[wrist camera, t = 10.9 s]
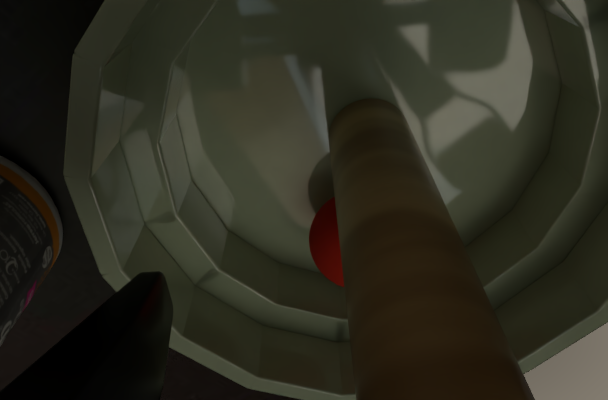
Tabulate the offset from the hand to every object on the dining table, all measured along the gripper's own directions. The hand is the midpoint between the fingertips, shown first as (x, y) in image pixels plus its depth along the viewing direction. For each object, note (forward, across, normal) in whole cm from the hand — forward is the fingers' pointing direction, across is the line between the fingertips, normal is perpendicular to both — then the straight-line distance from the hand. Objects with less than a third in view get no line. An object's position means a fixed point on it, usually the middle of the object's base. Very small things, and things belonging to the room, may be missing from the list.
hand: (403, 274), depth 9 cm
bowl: (+7, 0, 0) cm, 7 cm away
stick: (+7, 0, 0) cm, 7 cm away
